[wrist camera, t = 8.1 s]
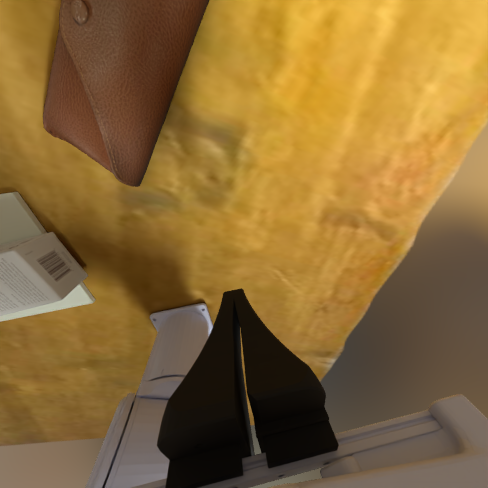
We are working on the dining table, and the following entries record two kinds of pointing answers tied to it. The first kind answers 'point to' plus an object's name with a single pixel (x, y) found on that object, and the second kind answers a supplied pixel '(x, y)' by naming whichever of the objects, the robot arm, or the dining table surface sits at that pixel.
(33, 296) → the skincare box
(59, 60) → the sunglasses case
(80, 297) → the mat
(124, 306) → the dining table surface
